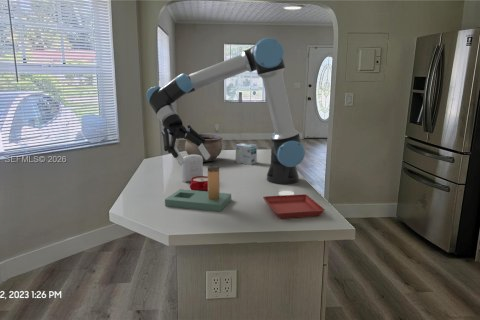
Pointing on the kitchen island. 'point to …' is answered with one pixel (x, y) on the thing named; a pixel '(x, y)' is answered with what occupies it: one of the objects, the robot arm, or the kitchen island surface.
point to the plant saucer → (293, 206)
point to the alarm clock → (199, 183)
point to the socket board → (197, 200)
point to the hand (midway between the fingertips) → (195, 160)
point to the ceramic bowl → (211, 144)
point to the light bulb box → (246, 153)
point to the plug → (213, 182)
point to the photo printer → (192, 167)
